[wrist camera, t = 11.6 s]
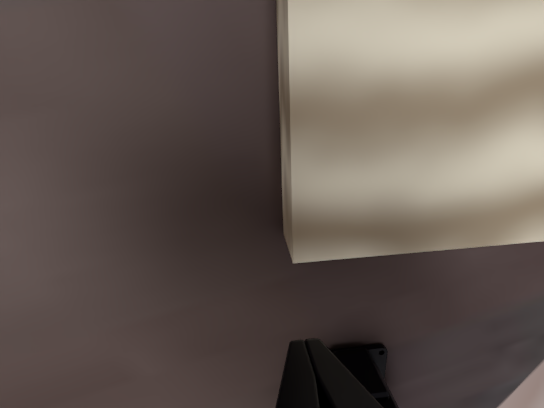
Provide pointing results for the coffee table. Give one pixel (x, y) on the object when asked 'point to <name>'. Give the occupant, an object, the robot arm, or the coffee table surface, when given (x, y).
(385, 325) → the coffee table surface
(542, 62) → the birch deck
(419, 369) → the coffee table surface
